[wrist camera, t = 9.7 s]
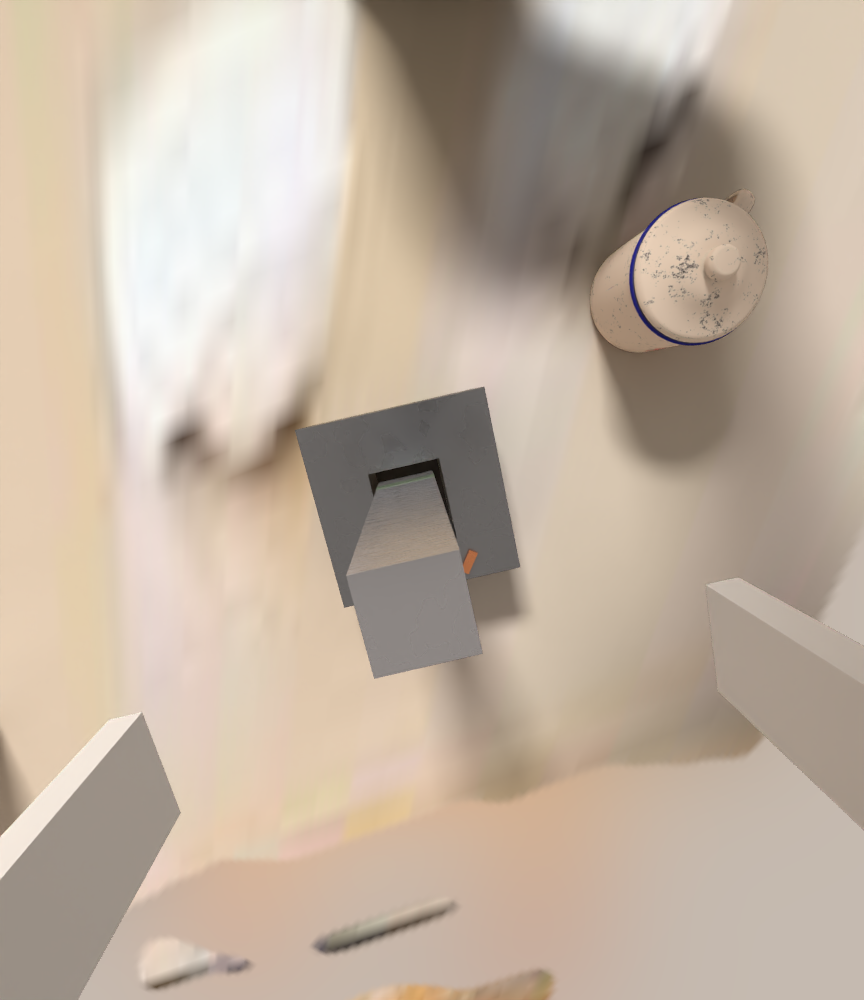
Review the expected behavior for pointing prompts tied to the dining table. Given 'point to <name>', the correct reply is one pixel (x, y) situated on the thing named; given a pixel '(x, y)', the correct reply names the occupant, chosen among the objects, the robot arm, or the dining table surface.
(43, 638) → the dining table surface
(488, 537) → the sleeve base
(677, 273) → the teacup with lid
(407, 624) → the column
